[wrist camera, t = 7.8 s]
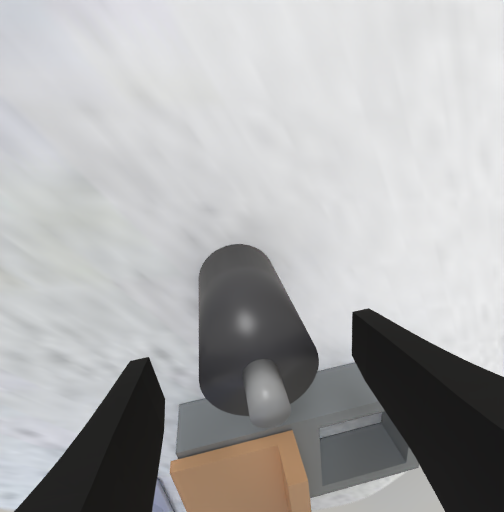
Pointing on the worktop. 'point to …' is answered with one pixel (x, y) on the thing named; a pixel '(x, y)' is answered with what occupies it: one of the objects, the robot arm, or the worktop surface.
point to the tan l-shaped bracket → (245, 477)
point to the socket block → (311, 432)
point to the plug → (251, 338)
